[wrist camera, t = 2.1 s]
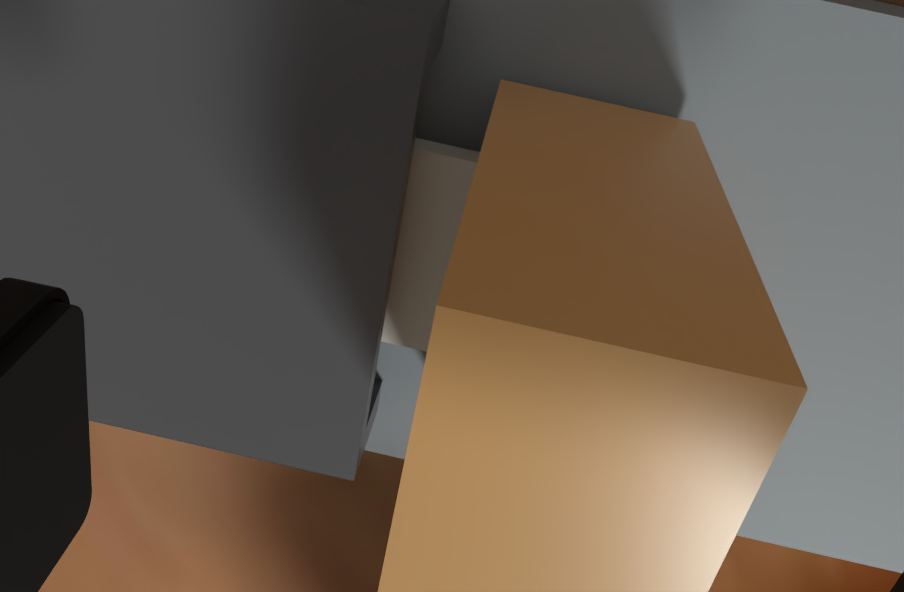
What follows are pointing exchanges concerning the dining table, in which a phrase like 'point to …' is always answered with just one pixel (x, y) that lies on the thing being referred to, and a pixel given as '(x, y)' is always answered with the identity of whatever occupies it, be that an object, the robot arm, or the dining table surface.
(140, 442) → the dining table surface
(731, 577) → the dining table surface
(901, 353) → the track
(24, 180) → the grey flat-faced box
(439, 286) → the tall tan wooden block
